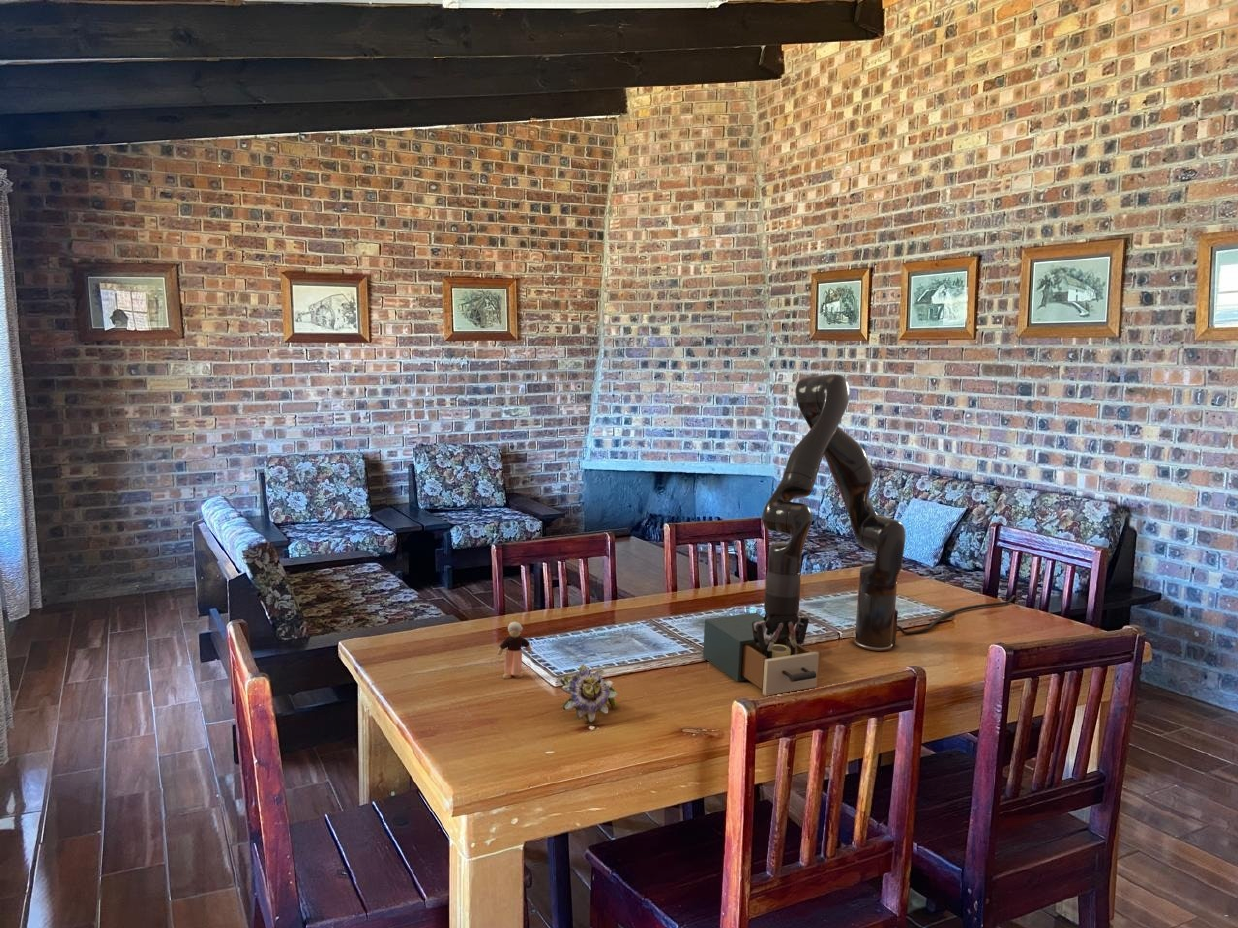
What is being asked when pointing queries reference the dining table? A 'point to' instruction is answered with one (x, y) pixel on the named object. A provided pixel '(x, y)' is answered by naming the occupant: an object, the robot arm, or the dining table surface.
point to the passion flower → (588, 693)
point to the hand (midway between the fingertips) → (778, 663)
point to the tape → (780, 651)
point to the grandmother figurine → (513, 650)
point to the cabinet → (729, 641)
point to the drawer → (780, 669)
